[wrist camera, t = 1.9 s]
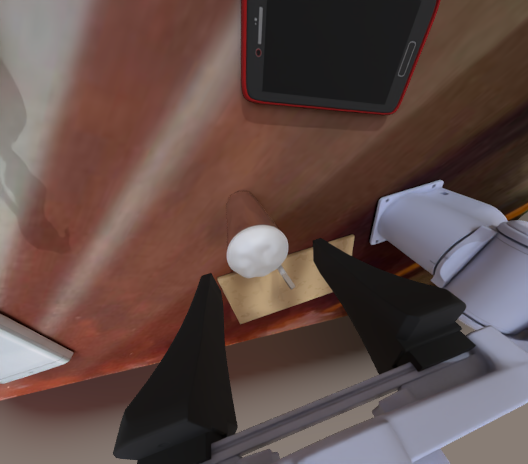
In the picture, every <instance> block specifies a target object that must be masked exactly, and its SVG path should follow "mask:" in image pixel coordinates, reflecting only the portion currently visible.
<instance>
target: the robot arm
mask: <svg viewBox="0 0 528 464" xmlns="http://www.w3.org/2000/svg"><path fill="white" fill-rule="evenodd" d="M443 183H444V182H443V181H442V180H438V181H435V182H431V183H428V184H425V185H421V186H418V187H415V188H411V189H408V190H405V191H402V192H398V193H395V194H392V195H388V196H385V197H382V198H380V199H379V201H378V206H377V210H376V215H375V219H374V224H373V229H372V233H371V238H370V244H371V245H374V244H377V243H380V242H383V241H386V240H387V241H389V242H390V243H391V244H393V245H394V246H395V247H397V248H398V249H399V250H401V251H402V252H403V253H405V254H406V255H407V256H408V257H410V258H411V259H412V260H414V261H415V262H416V263H418V264H419V265H420V266H422V267H423V268H424V269H426V270H427V271H428V272H430V273H431V274H432V275H434V277H433V278H432V279H431V281H432V282H433V283H434V284H436V285H437V286H438V287H435V286H431V285H427V284H423V283H419V282H416V281H412V280H409V279H406V278H402V277H399V276H396V275H394V274H391V273H388V272H385V271H383V270H380V269H378V268H375V267H373V266H371V265H368V264H366V263H364V262H362V261H360V260H358V259H356V258H354V257H352V256H350V255H349V254H347V253H345V252H343V251H342V250H340V249H338V248H337V247H335V246H333V245H332V244H330V243H328V242H327V241H325V240H323V239H322V238H319V239H316V240H313V261H314V263H315V265H316V267H317V269H318V271H319V272H320V274H321V275H322V277H323V278H324V280H325V281H326V283H327V284H328V285H329V287H330V288H331V289H332V291H333V292H334V294H335V295H336V296H337V298H338V299H339V301H340V302H341V304H342V305H343V307H344V309H345V310H346V312H347V314H348V316H349V317H350V319H351V321H352V322H353V324H354V326H355V328H356V330H357V332H358V333H359V335H360V337H361V339H362V341H363V343H364V345H365V347H366V349H367V351H368V353H369V355H370V356H371V359H372V361H373V363H374V365H375V367H376V369H377V371H378V373H379V375H377V376H375V377H372V378H370V379H368V380H365V381H363V382H360V383H358V384H355V385H353V386H351V387H348V388H346V389H343V390H341V391H338V392H336V393H334V394H331V395H329V396H326V397H324V398H322V399H319V400H317V401H314V402H312V403H309V404H307V405H305V406H302V407H299V408H297V409H295V410H292V411H290V412H287V413H285V414H282V415H280V416H277V417H275V418H273V419H270V420H268V421H265V422H263V423H260V424H258V425H255V426H253V427H251V428H248V429H246V430H243V431H241V432H239V433H236V434H235V432H236V430H237V421H236V416H235V411H234V404H233V399H232V393H231V387H230V380H229V373H228V367H227V359H226V351H225V341H224V313H223V301H222V295H221V291H220V289H219V287H218V285H217V283H216V281H215V279H214V278H213V276H212V274H211V273H209V274H206V275H203V276H202V277H201V279H200V282H199V285H198V288H197V290H196V293H195V296H194V298H193V301H192V303H191V306H190V308H189V311H188V313H187V315H186V317H185V319H184V322H183V324H182V326H181V328H180V330H179V331H178V333H177V335H176V337H175V339H174V341H173V342H172V344H171V346H170V347H169V349H168V351H167V352H166V354H165V356H164V357H163V359H162V360H161V362H160V363H159V365H158V366H157V368H156V369H155V371H154V372H153V374H152V375H151V376H150V378H149V379H148V381H147V382H146V384H145V385H144V386H143V387H142V389H141V390H140V391H139V393H138V394H137V395H136V397H135V398H134V399H133V401H132V402H131V403H130V404H129V406H128V407H127V408H126V409H125V412H124V415H123V418H122V421H121V424H120V428H119V433H118V436H117V440H116V444H115V447H114V451H113V455H114V456H115V457H116V458H120V459H130V460H138V462H137V464H450V462H449V461H448V459H447V458H446V456H445V455H444V453H443V452H442V451H441V449H440V448H442V447H443V446H445V445H447V444H449V443H451V442H453V441H455V440H457V439H459V438H461V437H463V436H465V435H467V434H468V433H470V432H472V431H474V430H476V429H478V428H480V427H482V426H484V425H486V424H488V423H490V422H491V421H493V420H495V419H497V418H499V417H501V416H503V415H505V414H507V413H509V412H511V411H513V410H514V409H516V408H518V407H520V406H522V405H524V404H526V403H528V222H527V221H521V220H514V221H507V219H506V217H505V216H504V215H503V214H502V213H501V212H500V211H499V210H498V209H496V208H495V207H493V206H491V205H488V204H486V203H483V202H480V201H477V200H475V199H472V198H469V197H466V196H463V195H461V194H458V193H455V192H452V191H449V190H447V189H444V188H442V185H443ZM457 319H459V320H460V321H461V322H463V323H464V324H466V325H468V326H469V327H471V328H473V329H474V330H475V331H473V332H471V333H469V334H467V335H466V336H465V335H464V334H463V333H462V332H460V330H461V329H462V328H461V326H459V325H458V324H457V323H456V322H455V321H456V320H457ZM396 390H398V391H397V392H396V393H394V394H392V395H390V396H388V397H386V398H385V399H383V400H381V401H379V405H378V406H377V407H376V408H375V409H374V410H373V411H372V413H373V415H374V418H371V419H369V420H366V421H364V422H361V423H359V424H356V425H354V426H351V427H349V428H347V429H344V430H342V431H340V432H337V433H335V434H333V435H331V436H328V437H326V438H324V439H322V440H319V441H317V442H315V443H313V444H311V445H308V446H306V447H304V448H302V449H300V450H298V451H296V452H294V453H292V454H289V455H288V456H285V457H283V458H281V459H280V458H279V453H278V452H272V451H271V450H270V449H267V450H264V451H261V452H258V453H255V454H252V455H249V456H246V457H244V458H243V457H241V456H243V455H245V454H248V453H250V452H252V451H255V450H257V449H259V448H262V447H264V446H266V445H269V444H271V443H273V442H276V441H278V440H281V439H283V438H285V437H287V436H290V435H292V434H295V433H297V432H299V431H302V430H304V429H306V428H309V427H311V426H314V425H316V424H318V423H321V422H323V421H325V420H328V419H330V418H332V417H335V416H337V415H339V414H342V413H344V412H347V411H349V410H351V409H354V408H356V407H358V406H361V405H363V404H365V403H368V402H370V401H372V400H374V399H377V398H380V397H382V396H384V395H386V394H389V393H391V392H393V391H396Z"/></svg>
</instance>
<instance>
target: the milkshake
mask: <svg viewBox="0 0 528 464" xmlns="http://www.w3.org/2000/svg"><path fill="white" fill-rule="evenodd" d="M226 216H227V261H228V264H229V266H230V268H231V269H232V270H233V271H235V272H236V273H238V274H240V275H241V276H243V277H245V278H253V277H263V276H266V275H268V274H269V273H271V272H273V271H274V270H276V269H277V270H278V271H279V273H280V274H281V276H282V277H283V279H284V280H285V282H286V283H287V285H288V286H289V288H290V289H291V290H292V289H293V288H294V287H295V285H294V283H293V282H292V280H291V279H290V277H289V276H288V274H287V273H286V271H285V270H284V268H283V267H282V265H281V264H282V263H283V262H284V260H285V259H286V257H287V254H288V241H287V238H286V236H285V235H284V234H283V233H282V231H281V230H280V229H279V228H278V226H277V225H276V224H275V223H274V222H273V220H272V219H271V218H270V217H269V215H268V214H267V213H266V211H265V210H264V209H263V207H262V206H261V205H260V203H259V202H258V200H257V199H256V198H255V197H254V196H253V195H252V194H251V193H249V192H246V191H238V192H236V193H234V194H232V195H230V197H229V199H228V201H227V204H226Z"/></svg>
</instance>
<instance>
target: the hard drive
mask: <svg viewBox="0 0 528 464" xmlns="http://www.w3.org/2000/svg"><path fill="white" fill-rule="evenodd" d="M72 355H73V352H72V351H70V350H68V349H66V348H64V347H62V346H60V345H59V344H57V343H55V342H53V341H51V340H49V339H47V338H45V337H44V336H42V335H40V334H38V333H36V332H34V331H32V330H30V329H29V328H27V327H25V326H23V325H21V324H19V323H17V322H15V321H13V320H11V319H10V318H8V317H6V316H4V315H2V314H0V383H2V384H4V383H8V382H11V381H14V380H17V379H20V378H23V377H26V376H29V375H33V374H35V373H39V372H42V371H45V370H48V369H51V368H54V367H57V366H60V365H63V364H65V363H67V362H69V361H70V359H71V357H72Z"/></svg>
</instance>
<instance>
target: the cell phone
mask: <svg viewBox="0 0 528 464" xmlns="http://www.w3.org/2000/svg"><path fill="white" fill-rule="evenodd" d="M439 4H440V0H241V85H242V92H243V96H244V97H245V99H247V100H248V101H251V102H255V103H261V104H270V105H283V106H294V107H303V108H312V109H324V110H335V111H346V112H357V113H369V114H380V115H390V114H393V113H395V112H396V111H397V109H398V108H399V106H400V104H401V102H402V100H403V97H404V95H405V92H406V90H407V87H408V85H409V82H410V80H411V77H412V75H413V72H414V69H415V67H416V64H417V62H418V59H419V57H420V54H421V52H422V49H423V47H424V44H425V42H426V39H427V37H428V34H429V31H430V29H431V26H432V24H433V21H434V19H435V16H436V13H437V11H438V7H439Z"/></svg>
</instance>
